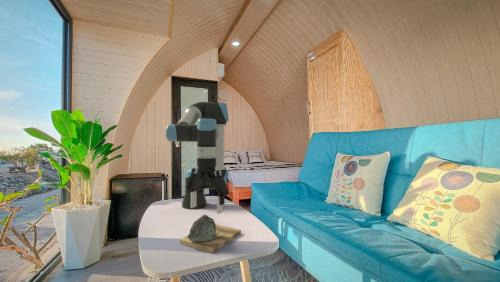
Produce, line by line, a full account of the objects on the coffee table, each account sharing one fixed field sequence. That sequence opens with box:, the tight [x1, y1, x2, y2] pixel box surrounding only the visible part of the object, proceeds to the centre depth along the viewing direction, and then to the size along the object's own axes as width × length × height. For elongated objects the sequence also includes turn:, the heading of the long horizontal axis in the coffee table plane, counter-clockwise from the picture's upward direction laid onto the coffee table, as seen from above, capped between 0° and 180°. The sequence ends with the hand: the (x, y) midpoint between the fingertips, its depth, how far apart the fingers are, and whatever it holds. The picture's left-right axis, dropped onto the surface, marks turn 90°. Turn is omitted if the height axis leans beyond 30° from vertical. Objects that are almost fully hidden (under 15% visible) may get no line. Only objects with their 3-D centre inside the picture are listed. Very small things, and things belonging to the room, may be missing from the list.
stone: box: [186, 214, 216, 242], centre depth 87 cm, size 10×10×10 cm
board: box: [179, 223, 242, 254], centre depth 91 cm, size 20×16×2 cm
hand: (206, 209), depth 88 cm, fingers open, 13 cm apart
